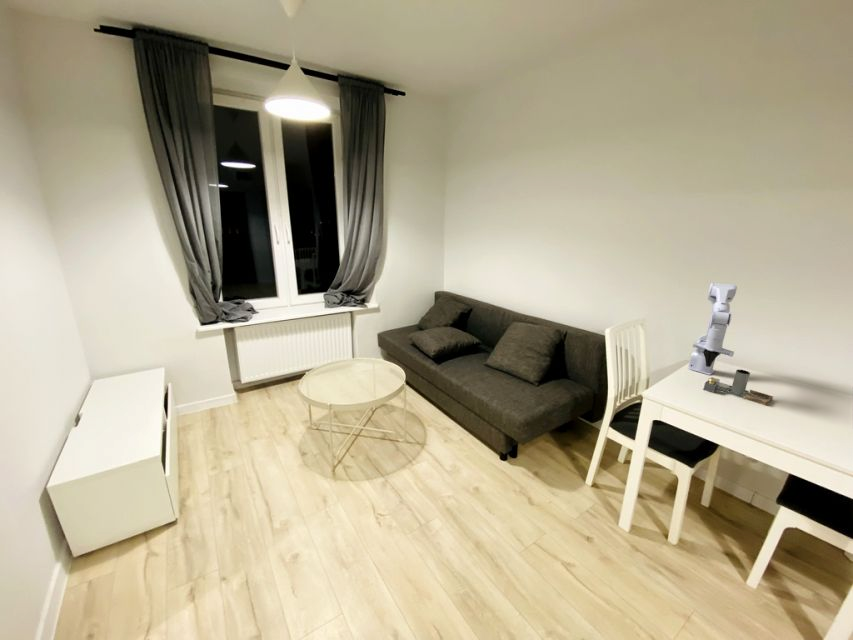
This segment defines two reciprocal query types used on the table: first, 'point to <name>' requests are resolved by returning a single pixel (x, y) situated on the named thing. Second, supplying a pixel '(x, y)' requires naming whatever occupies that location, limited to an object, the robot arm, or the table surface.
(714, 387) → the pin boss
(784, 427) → the table surface
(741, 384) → the planter
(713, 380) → the brass knob
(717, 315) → the robot arm
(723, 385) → the grey notched block
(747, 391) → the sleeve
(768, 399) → the frame
